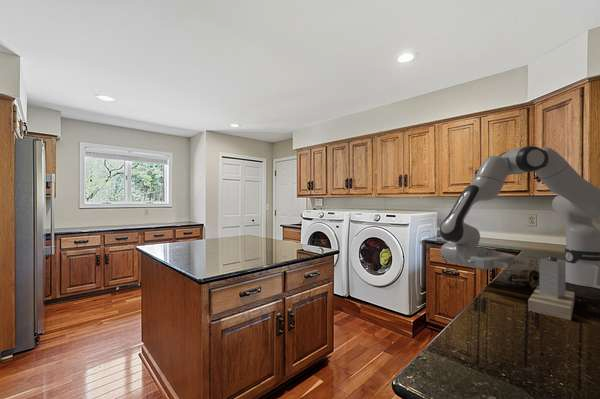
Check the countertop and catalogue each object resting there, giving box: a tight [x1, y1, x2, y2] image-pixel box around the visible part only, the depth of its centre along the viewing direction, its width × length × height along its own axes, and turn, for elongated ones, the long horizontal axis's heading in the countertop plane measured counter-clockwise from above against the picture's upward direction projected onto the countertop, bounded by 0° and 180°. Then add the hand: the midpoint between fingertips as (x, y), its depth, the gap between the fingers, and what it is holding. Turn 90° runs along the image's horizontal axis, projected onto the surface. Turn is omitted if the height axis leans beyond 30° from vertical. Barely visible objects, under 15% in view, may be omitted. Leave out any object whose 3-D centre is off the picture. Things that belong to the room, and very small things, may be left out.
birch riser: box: [527, 286, 575, 321], centre depth 97 cm, size 22×10×4 cm, turn 135°
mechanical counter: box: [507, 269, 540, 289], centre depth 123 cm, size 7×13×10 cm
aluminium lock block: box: [539, 255, 567, 299], centre depth 97 cm, size 5×5×13 cm
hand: (516, 265), depth 107 cm, fingers open, 8 cm apart
